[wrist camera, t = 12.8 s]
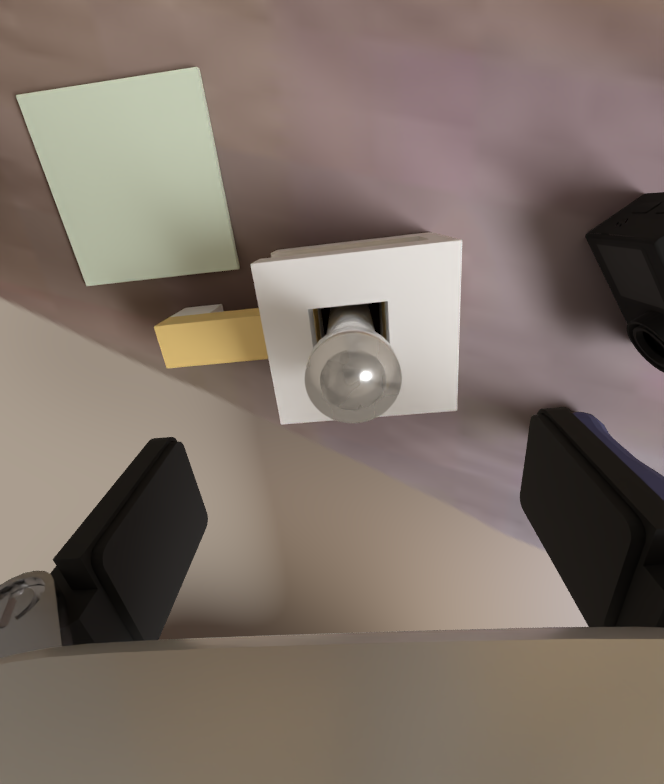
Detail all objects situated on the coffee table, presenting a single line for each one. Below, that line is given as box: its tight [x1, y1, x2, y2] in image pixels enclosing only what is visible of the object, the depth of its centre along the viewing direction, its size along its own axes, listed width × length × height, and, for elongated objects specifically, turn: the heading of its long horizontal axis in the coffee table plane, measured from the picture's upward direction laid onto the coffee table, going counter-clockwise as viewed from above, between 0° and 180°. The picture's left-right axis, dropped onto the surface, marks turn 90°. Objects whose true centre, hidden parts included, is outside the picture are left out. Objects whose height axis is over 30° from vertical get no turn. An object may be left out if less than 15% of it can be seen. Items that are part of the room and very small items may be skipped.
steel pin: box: [305, 303, 402, 423], centre depth 24 cm, size 4×4×14 cm
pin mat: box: [16, 67, 240, 286], centre depth 27 cm, size 12×12×1 cm
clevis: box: [154, 232, 462, 424], centre depth 26 cm, size 10×19×8 cm, turn 96°
